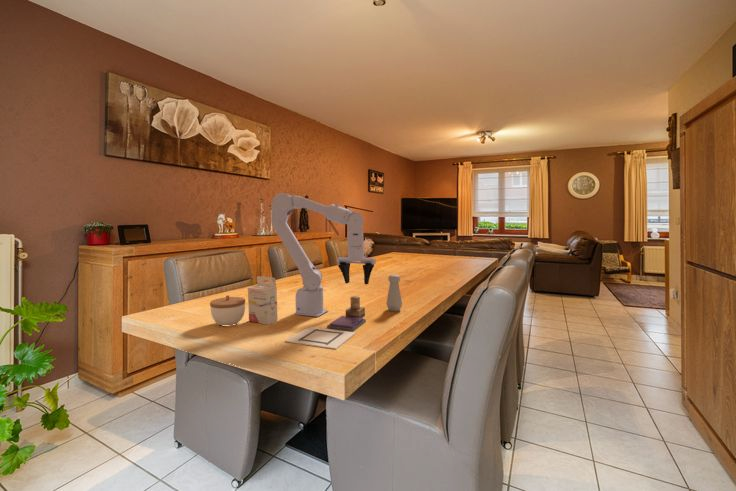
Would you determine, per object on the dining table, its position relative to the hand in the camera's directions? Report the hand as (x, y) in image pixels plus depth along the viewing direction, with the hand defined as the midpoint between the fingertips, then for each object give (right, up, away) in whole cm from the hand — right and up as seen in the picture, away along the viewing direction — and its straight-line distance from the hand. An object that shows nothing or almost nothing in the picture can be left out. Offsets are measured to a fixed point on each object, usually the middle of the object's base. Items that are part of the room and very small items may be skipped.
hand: (356, 283), depth 127 cm
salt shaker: (+14, -10, +3) cm, 17 cm away
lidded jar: (-42, -12, -11) cm, 45 cm away
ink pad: (-3, -12, -14) cm, 18 cm away
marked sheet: (-9, -13, -25) cm, 30 cm away
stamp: (0, -11, -5) cm, 12 cm away
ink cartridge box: (-31, -12, -9) cm, 34 cm away
